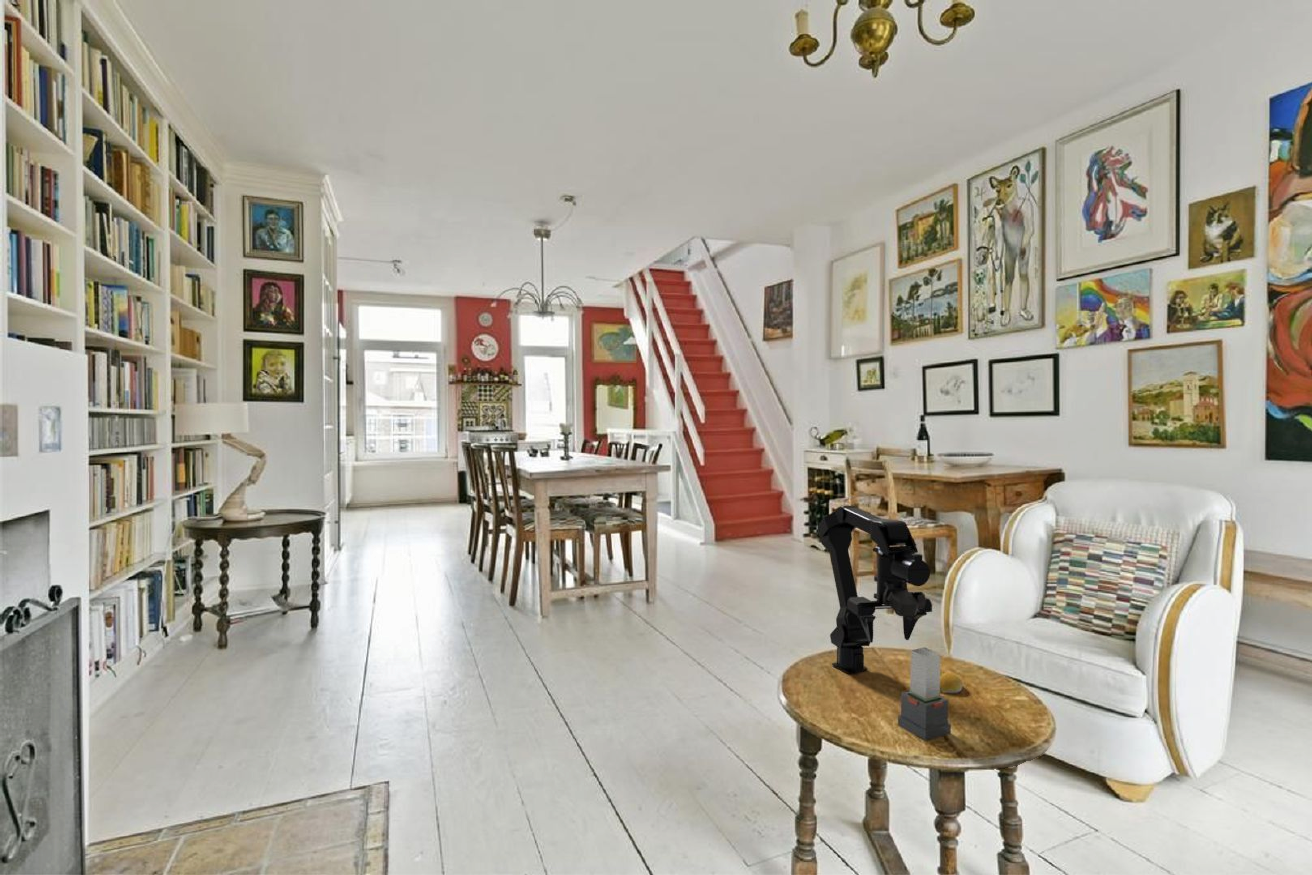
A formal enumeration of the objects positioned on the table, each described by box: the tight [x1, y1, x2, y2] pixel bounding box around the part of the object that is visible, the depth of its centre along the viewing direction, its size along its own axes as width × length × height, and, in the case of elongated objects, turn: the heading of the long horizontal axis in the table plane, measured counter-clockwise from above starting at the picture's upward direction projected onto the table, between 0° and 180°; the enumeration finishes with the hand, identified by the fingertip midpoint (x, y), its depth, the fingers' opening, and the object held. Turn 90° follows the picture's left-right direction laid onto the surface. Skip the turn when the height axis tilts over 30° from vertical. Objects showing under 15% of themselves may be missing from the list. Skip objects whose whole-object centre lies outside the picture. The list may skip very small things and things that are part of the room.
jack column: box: [908, 647, 942, 703], centre depth 132 cm, size 4×4×11 cm
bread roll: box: [940, 668, 963, 694], centre depth 154 cm, size 8×9×4 cm
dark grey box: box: [897, 690, 952, 742], centre depth 132 cm, size 7×7×7 cm
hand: (888, 640), depth 148 cm, fingers open, 9 cm apart
